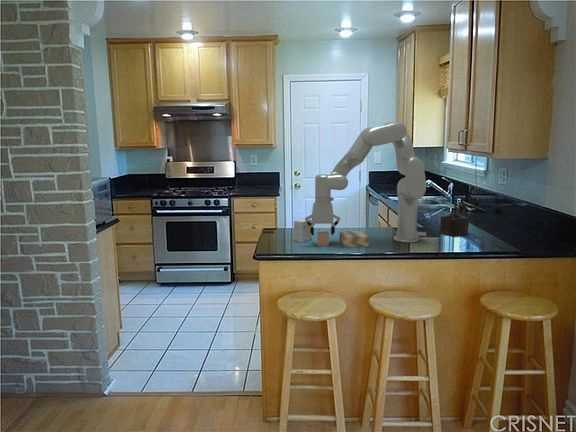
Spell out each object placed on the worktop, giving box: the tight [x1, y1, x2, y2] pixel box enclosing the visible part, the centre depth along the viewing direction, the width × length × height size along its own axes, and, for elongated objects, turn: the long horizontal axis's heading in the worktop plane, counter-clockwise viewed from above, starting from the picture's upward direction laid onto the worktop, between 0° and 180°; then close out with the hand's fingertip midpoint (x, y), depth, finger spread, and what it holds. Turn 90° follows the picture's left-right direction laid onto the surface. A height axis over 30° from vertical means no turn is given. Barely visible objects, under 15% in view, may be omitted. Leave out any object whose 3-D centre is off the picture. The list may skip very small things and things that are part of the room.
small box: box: [293, 217, 313, 243], centre depth 235 cm, size 8×6×10 cm
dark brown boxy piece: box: [439, 202, 470, 238], centre depth 240 cm, size 16×11×18 cm
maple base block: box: [339, 230, 370, 248], centre depth 226 cm, size 12×12×5 cm
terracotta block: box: [316, 230, 330, 247], centre depth 226 cm, size 5×5×6 cm
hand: (322, 234), depth 226 cm, fingers open, 9 cm apart
